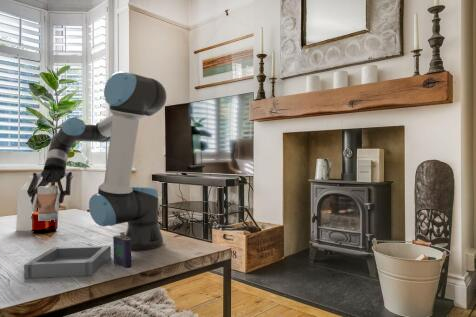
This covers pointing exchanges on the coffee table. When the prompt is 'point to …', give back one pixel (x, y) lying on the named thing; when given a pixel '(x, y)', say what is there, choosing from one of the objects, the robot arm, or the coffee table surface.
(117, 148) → the robot arm
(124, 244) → the flask
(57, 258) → the tray
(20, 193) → the milk
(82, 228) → the coffee table surface
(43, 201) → the glass with pinkish-brown filling
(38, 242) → the coffee table surface
